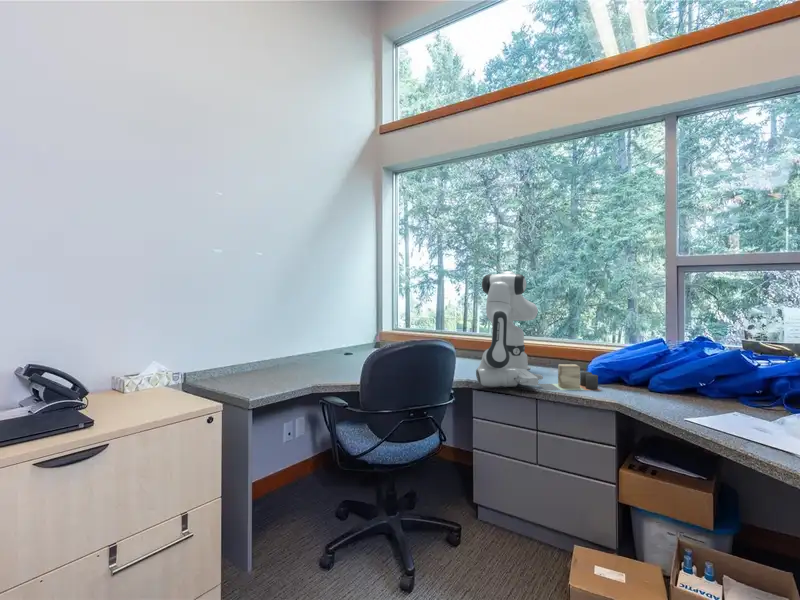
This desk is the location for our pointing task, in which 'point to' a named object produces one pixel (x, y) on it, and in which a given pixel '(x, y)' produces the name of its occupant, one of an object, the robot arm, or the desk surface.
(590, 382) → the post
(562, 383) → the birch block
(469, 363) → the desk surface
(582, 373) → the post
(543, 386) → the lane mat
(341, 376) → the desk surface
